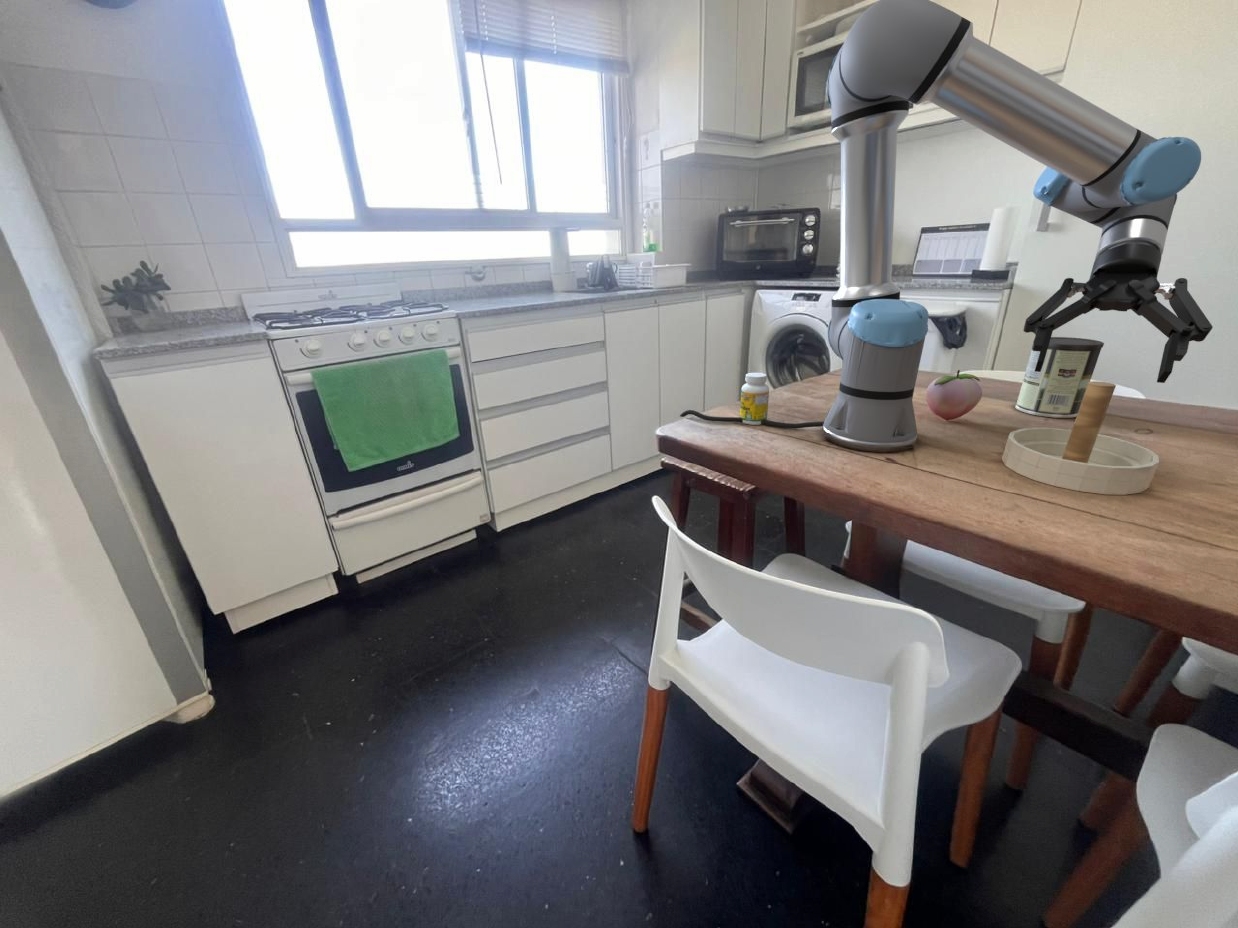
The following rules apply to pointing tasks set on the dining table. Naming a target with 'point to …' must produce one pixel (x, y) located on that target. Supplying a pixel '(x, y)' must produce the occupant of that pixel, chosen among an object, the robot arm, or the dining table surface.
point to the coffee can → (1059, 378)
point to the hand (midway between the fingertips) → (1098, 372)
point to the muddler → (1088, 421)
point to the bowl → (1108, 472)
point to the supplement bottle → (754, 399)
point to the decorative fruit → (953, 395)
